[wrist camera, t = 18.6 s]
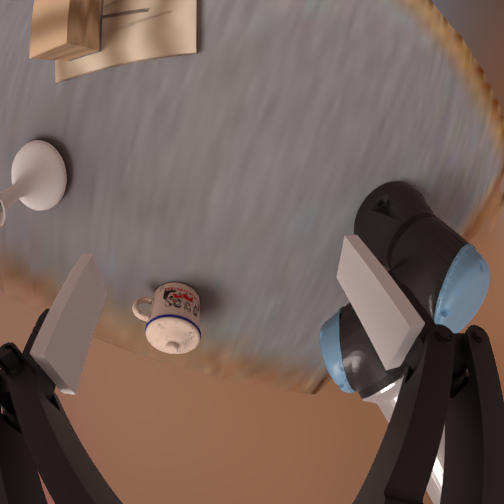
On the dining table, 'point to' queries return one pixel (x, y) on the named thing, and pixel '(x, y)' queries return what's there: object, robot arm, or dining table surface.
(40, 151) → the flower in vase
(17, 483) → the robot arm
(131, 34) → the board
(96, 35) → the block
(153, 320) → the teacup with lid
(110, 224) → the dining table surface
